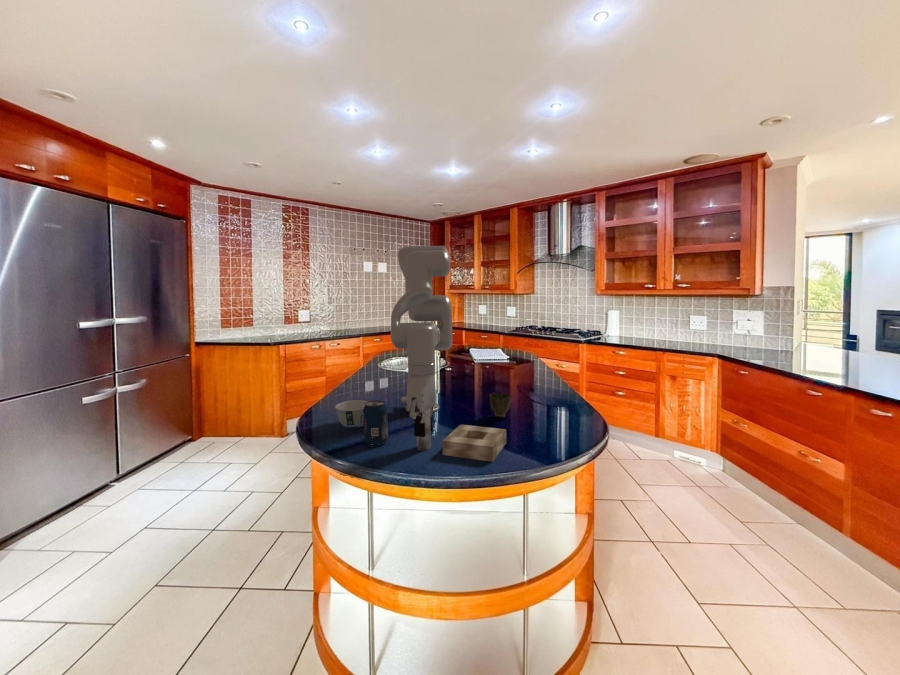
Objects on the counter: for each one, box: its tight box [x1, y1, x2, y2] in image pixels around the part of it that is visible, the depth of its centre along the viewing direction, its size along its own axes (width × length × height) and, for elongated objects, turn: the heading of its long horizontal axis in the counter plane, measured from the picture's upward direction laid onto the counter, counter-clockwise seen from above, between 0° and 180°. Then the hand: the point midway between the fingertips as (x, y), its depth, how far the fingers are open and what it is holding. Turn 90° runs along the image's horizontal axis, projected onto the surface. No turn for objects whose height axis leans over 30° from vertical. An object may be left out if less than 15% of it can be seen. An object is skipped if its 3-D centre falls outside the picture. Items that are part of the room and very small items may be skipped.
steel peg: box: [416, 409, 432, 451], centre depth 114 cm, size 4×4×14 cm
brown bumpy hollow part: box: [488, 392, 511, 419], centre depth 141 cm, size 8×7×8 cm
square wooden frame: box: [441, 424, 507, 463], centre depth 113 cm, size 14×14×4 cm
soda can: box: [363, 400, 389, 445], centre depth 119 cm, size 7×7×12 cm
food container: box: [334, 399, 369, 425], centre depth 138 cm, size 12×12×6 cm
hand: (423, 432), depth 114 cm, fingers closed on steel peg, 4 cm apart
